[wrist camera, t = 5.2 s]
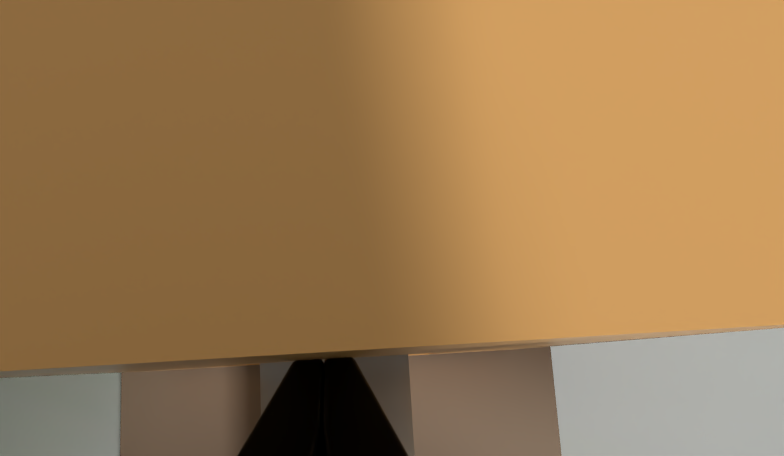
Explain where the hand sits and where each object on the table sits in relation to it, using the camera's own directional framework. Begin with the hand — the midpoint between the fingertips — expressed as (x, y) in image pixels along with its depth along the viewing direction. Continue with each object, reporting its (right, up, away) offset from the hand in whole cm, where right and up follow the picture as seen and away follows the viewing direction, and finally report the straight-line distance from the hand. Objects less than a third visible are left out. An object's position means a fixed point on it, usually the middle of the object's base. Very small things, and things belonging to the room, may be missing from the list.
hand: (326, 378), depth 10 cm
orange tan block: (0, +1, +6) cm, 6 cm away
